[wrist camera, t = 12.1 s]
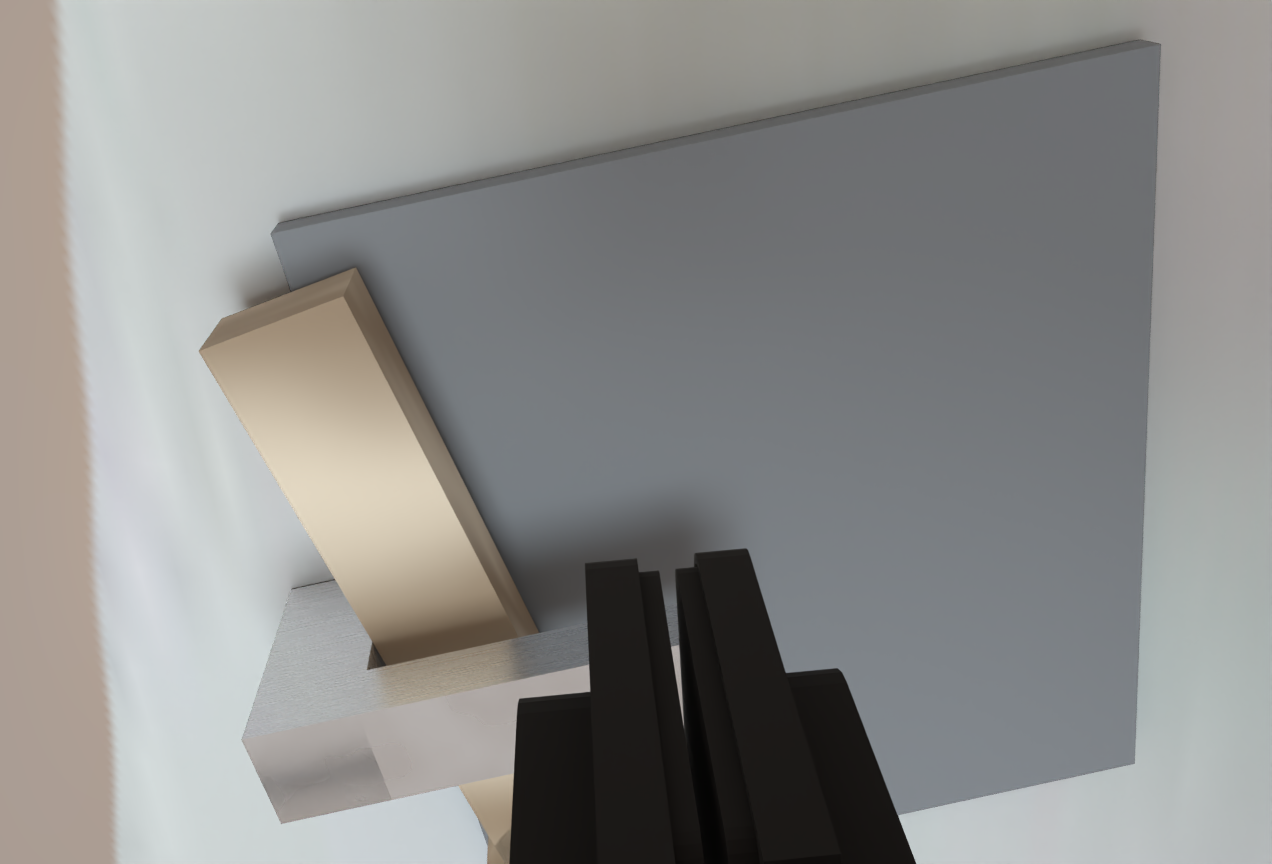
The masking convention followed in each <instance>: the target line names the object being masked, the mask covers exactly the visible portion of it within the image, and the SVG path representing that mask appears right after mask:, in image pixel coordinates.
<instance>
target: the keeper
mask: <svg viewBox="0 0 1272 864" xmlns="http://www.w3.org/2000/svg"><path fill="white" fill-rule="evenodd" d="M665 611H666V617H667V624H668V630H669V636H670V643H671V649H672V655H673V662H674V668H675V674H676V681H677V687H678V693H679V700H680V706H681V712H682V719H683V702H682V684H681V667H680V650H679V633H678V616H677V603H676V604H672V605H667V606H665ZM582 692H590V674H589V651H588V627H587V623H583V624H579V625H574V626H570V627H565V628H560V629H556V630H551V631H546V632H542V633H537V634H532V635H528V636H523V637H519V638H514V639H509V640H505V641H500V642H495V643H491V644H486V645H482V646H477V647H472V648H468V649H463V650H458V651H454V652H449V653H444V654H440V655H435V656H431V657H426V658H421V659H417V660H412V661H407V662H403V663H398V664H393V665H389V666H387V665H386V664H385V662H384V660H383V659H382V657H381V655H380V654H379V652H378V650H377V649H376V647H375V645H374V644H373V642H372V640H371V639H370V637H369V635H368V634H367V632H366V630H365V629H364V627H363V625H362V624H361V622H360V620H359V619H358V617H357V615H356V614H355V612H354V610H353V609H352V607H351V605H350V603H349V602H348V600H347V598H346V597H345V595H344V593H343V592H342V590H341V588H340V587H339V585H338V583H337V582H336V580H333V581H329V582H324V583H319V584H315V585H310V586H305V587H301V588H296V589H291V591H290V594H289V597H288V600H287V603H286V606H285V609H284V612H283V615H282V618H281V621H280V625H279V628H278V631H277V634H276V637H275V640H274V643H273V646H272V649H271V652H270V655H269V658H268V661H267V664H266V667H265V670H264V673H263V676H262V679H261V682H260V685H259V688H258V691H257V694H256V697H255V700H254V703H253V707H252V710H251V713H250V716H249V719H248V722H247V725H246V728H245V731H244V734H243V737H242V742H243V744H244V746H245V748H246V750H247V752H248V754H249V757H250V759H251V761H252V763H253V765H254V767H255V769H256V771H257V773H258V776H259V778H260V780H261V782H262V784H263V786H264V788H265V790H266V792H267V795H268V797H269V799H270V801H271V803H272V805H273V807H274V809H275V811H276V814H277V816H278V818H279V820H280V822H281V824H283V823H287V822H292V821H296V820H301V819H306V818H310V817H315V816H320V815H324V814H329V813H333V812H338V811H343V810H347V809H352V808H357V807H361V806H366V805H370V804H375V803H380V802H384V801H389V800H393V799H398V798H403V797H407V796H412V795H417V794H421V793H426V792H430V791H435V790H440V789H444V788H449V787H453V786H458V785H463V784H467V783H472V782H477V781H481V780H486V779H490V778H495V777H500V776H504V775H509V774H513V773H514V760H515V740H516V720H517V707H518V701H519V699H520V698H530V697H541V696H551V695H562V694H572V693H582ZM683 725H684V719H683Z"/></svg>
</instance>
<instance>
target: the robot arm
mask: <svg viewBox="0 0 1272 864" xmlns="http://www.w3.org/2000/svg"><path fill="white" fill-rule="evenodd" d="M585 581H586V604H587V627H588V651H589V674H590V692H582V693H572V694H562V695H551V696H541V697H530V698H520V699H519V701H518V707H517V720H516V740H515V760H514V779H513V799H512V819H511V839H510V858H509V864H916V862H915V859H914V857H913V854H912V852H911V849H910V846H909V844H908V841H907V839H906V836H905V833H904V831H903V828H902V825H901V823H900V820H899V818H898V815H897V812H896V810H895V807H894V804H893V802H892V799H891V797H890V794H889V791H888V789H887V786H886V783H885V781H884V778H883V776H882V773H881V770H880V768H879V765H878V762H877V760H876V757H875V755H874V752H873V749H872V747H871V744H870V741H869V739H868V736H867V734H866V731H865V728H864V726H863V723H862V720H861V718H860V715H859V713H858V710H857V707H856V705H855V702H854V699H853V697H852V694H851V692H850V689H849V686H848V684H847V681H846V679H845V677H844V675H843V673H842V672H841V671H840V670H839V669H838V668H833V669H823V670H812V671H802V672H791V673H786V672H785V668H784V665H783V662H782V659H781V655H780V652H779V649H778V645H777V642H776V639H775V636H774V632H773V629H772V626H771V622H770V619H769V616H768V613H767V609H766V606H765V603H764V599H763V596H762V593H761V590H760V586H759V583H758V580H757V576H756V573H755V570H754V567H753V563H752V560H751V557H750V554H749V551H748V549H746V548H743V549H732V550H721V551H710V552H699V553H695V554H694V567H689V568H678V569H675V582H676V599H677V616H678V633H679V650H680V667H681V684H682V702H683V719H684V725H683V719H682V712H681V706H680V700H679V693H678V687H677V681H676V674H675V668H674V662H673V655H672V649H671V643H670V636H669V630H668V624H667V617H666V611H665V605H664V598H663V592H662V585H661V579H660V573H659V570H657V571H646V572H639V570H638V562H637V558H634V559H623V560H612V561H601V562H590V563H585Z"/></svg>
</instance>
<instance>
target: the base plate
mask: <svg viewBox="0 0 1272 864" xmlns="http://www.w3.org/2000/svg"><path fill="white" fill-rule="evenodd" d="M1160 53H1161V44H1158V43H1153V42H1149V41H1144V40H1136V41H1132V42H1127V43H1122V44H1118V45H1113V46H1108V47H1104V48H1099V49H1094V50H1089V51H1085V52H1080V53H1075V54H1071V55H1066V56H1061V57H1057V58H1052V59H1047V60H1043V61H1038V62H1033V63H1028V64H1024V65H1019V66H1014V67H1010V68H1005V69H1000V70H996V71H991V72H986V73H981V74H977V75H972V76H967V77H963V78H958V79H953V80H949V81H944V82H939V83H935V84H930V85H925V86H920V87H916V88H911V89H906V90H902V91H897V92H892V93H888V94H883V95H878V96H874V97H869V98H864V99H859V100H855V101H850V102H845V103H841V104H836V105H831V106H827V107H822V108H817V109H812V110H808V111H803V112H798V113H794V114H789V115H784V116H780V117H775V118H770V119H766V120H761V121H756V122H751V123H747V124H742V125H737V126H733V127H728V128H723V129H719V130H714V131H709V132H704V133H700V134H695V135H690V136H686V137H681V138H676V139H672V140H667V141H662V142H658V143H653V144H648V145H643V146H639V147H634V148H629V149H625V150H620V151H615V152H611V153H606V154H601V155H596V156H592V157H587V158H582V159H578V160H573V161H568V162H564V163H559V164H554V165H550V166H545V167H540V168H535V169H531V170H526V171H521V172H517V173H512V174H507V175H503V176H498V177H493V178H488V179H484V180H479V181H474V182H470V183H465V184H460V185H456V186H451V187H446V188H442V189H437V190H432V191H427V192H423V193H418V194H413V195H409V196H404V197H399V198H395V199H390V200H385V201H381V202H376V203H371V204H366V205H362V206H357V207H352V208H348V209H343V210H338V211H334V212H329V213H324V214H319V215H315V216H310V217H305V218H301V219H296V220H291V221H287V222H282V223H278V224H277V226H276V227H275V228H274V230H273V231H272V232H271V237H272V239H273V242H274V245H275V248H276V251H277V253H278V256H279V259H280V262H281V265H282V268H283V270H284V273H285V276H286V279H287V282H288V284H289V287H290V290H291V292H293V291H295V290H298V289H301V288H303V287H306V286H308V285H311V284H314V283H316V282H319V281H322V280H324V279H327V278H329V277H332V276H335V275H337V274H340V273H342V272H345V271H348V270H350V269H353V268H357V270H358V272H359V274H360V276H361V278H362V280H363V282H364V284H365V286H366V288H367V290H368V292H369V294H370V296H371V298H372V300H373V302H374V304H375V306H376V308H377V310H378V312H379V314H380V316H381V318H382V320H383V322H384V324H385V326H386V328H387V330H388V332H389V334H390V336H391V338H392V340H393V342H394V344H395V346H396V348H397V350H398V352H399V354H400V356H401V358H402V360H403V362H404V364H405V366H406V368H407V370H408V372H409V374H410V376H411V378H412V380H413V382H414V384H415V386H416V388H417V390H418V392H419V394H420V396H421V398H422V400H423V402H424V404H425V406H426V408H427V410H428V412H429V414H430V416H431V418H432V420H433V422H434V424H435V426H436V428H437V430H438V432H439V434H440V436H441V438H442V440H443V442H444V444H445V446H446V448H447V450H448V452H449V454H450V456H451V458H452V460H453V462H454V464H455V466H456V468H457V470H458V472H459V474H460V476H461V478H462V480H463V482H464V484H465V486H466V488H467V490H468V492H469V494H470V496H471V498H472V500H473V502H474V504H475V506H476V508H477V510H478V512H479V514H480V516H481V518H482V520H483V522H484V524H485V526H486V528H487V530H488V532H489V534H490V536H491V538H492V540H493V542H494V544H495V546H496V548H497V550H498V552H499V554H500V556H501V558H502V560H503V562H504V564H505V566H506V568H507V570H508V572H509V574H510V576H511V578H512V580H513V582H514V584H515V586H516V588H517V590H518V592H519V594H520V596H521V598H522V600H523V602H524V604H525V606H526V608H527V610H528V612H529V614H530V616H531V617H532V619H533V621H534V623H535V625H536V627H537V629H538V631H539V633H542V632H546V631H551V630H556V629H560V628H565V627H570V626H574V625H579V624H583V623H587V604H586V581H585V563H590V562H601V561H612V560H623V559H634V558H637V562H638V570H639V572H646V571H657V570H659V573H660V579H661V585H662V592H663V598H664V605H665V606H667V605H672V604H676V603H677V599H676V582H675V569H678V568H689V567H694V554H695V553H699V552H710V551H721V550H732V549H743V548H746V549H748V551H749V554H750V557H751V560H752V563H753V567H754V570H755V573H756V576H757V580H758V583H759V586H760V590H761V593H762V596H763V599H764V603H765V606H766V609H767V613H768V616H769V619H770V622H771V626H772V629H773V632H774V636H775V639H776V642H777V645H778V649H779V652H780V655H781V659H782V662H783V665H784V668H785V672H786V673H791V672H802V671H812V670H823V669H833V668H838V669H839V670H840V671H841V672H842V673H843V675H844V677H845V679H846V681H847V684H848V686H849V689H850V692H851V694H852V697H853V699H854V702H855V705H856V707H857V710H858V713H859V715H860V718H861V720H862V723H863V726H864V728H865V731H866V734H867V736H868V739H869V741H870V744H871V747H872V749H873V752H874V755H875V757H876V760H877V762H878V765H879V768H880V770H881V773H882V776H883V778H884V781H885V783H886V786H887V789H888V791H889V794H890V797H891V799H892V802H893V804H894V807H895V810H896V812H897V815H901V814H905V813H910V812H914V811H919V810H924V809H928V808H933V807H937V806H942V805H947V804H951V803H956V802H960V801H965V800H970V799H974V798H979V797H983V796H988V795H993V794H997V793H1002V792H1006V791H1011V790H1016V789H1020V788H1025V787H1029V786H1034V785H1039V784H1043V783H1048V782H1052V781H1057V780H1062V779H1066V778H1071V777H1075V776H1080V775H1085V774H1089V773H1094V772H1098V771H1103V770H1108V769H1112V768H1117V767H1121V766H1126V765H1131V764H1135V740H1136V713H1137V685H1138V658H1139V630H1140V603H1141V575H1142V548H1143V520H1144V493H1145V465H1146V438H1147V410H1148V383H1149V355H1150V328H1151V300H1152V273H1153V245H1154V218H1155V191H1156V163H1157V136H1158V108H1159V81H1160ZM478 820H479V819H478ZM479 823H480V821H479ZM480 826H481V829H482V832H483V834H484V837H485V840H486V843H487V846H488V834H487V833H486V831H485V829H484V828H483V826H482V824H481V823H480Z"/></svg>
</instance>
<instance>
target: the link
mask: <svg viewBox="0 0 1272 864" xmlns="http://www.w3.org/2000/svg"><path fill="white" fill-rule="evenodd" d="M199 353H200V354H201V356H202V358H203V359H204V361H205V363H206V364H207V366H208V368H209V369H210V371H211V373H212V374H213V376H214V378H215V379H216V381H217V383H218V384H219V386H220V388H221V389H222V391H223V393H224V394H225V396H226V398H227V399H228V401H229V403H230V404H231V406H232V408H233V410H234V411H235V413H236V415H237V416H238V418H239V420H240V421H241V423H242V425H243V426H244V428H245V430H246V431H247V433H248V435H249V436H250V438H251V440H252V441H253V443H254V445H255V446H256V448H257V450H258V451H259V453H260V455H261V456H262V458H263V460H264V461H265V463H266V465H267V466H268V468H269V470H270V471H271V473H272V475H273V476H274V478H275V480H276V481H277V483H278V485H279V486H280V488H281V490H282V491H283V493H284V495H285V496H286V498H287V500H288V501H289V503H290V505H291V506H292V508H293V510H294V512H295V513H296V515H297V517H298V518H299V520H300V522H301V523H302V525H303V527H304V528H305V530H306V532H307V533H308V535H309V537H310V538H311V540H312V542H313V543H314V545H315V547H316V548H317V550H318V552H319V553H320V555H321V557H322V558H323V560H324V562H325V563H326V565H327V567H328V568H329V570H330V572H331V573H332V575H333V577H334V578H335V580H336V582H337V583H338V585H339V587H340V588H341V590H342V592H343V593H344V595H345V597H346V598H347V600H348V602H349V603H350V605H351V607H352V609H353V610H354V612H355V614H356V615H357V617H358V619H359V620H360V622H361V624H362V625H363V627H364V629H365V630H366V632H367V634H368V635H369V637H370V639H371V640H372V642H373V644H374V645H375V647H376V649H377V650H378V652H379V654H380V655H381V657H382V659H383V660H384V662H385V664H386V665H387V666H389V665H393V664H398V663H403V662H407V661H412V660H417V659H421V658H426V657H431V656H435V655H440V654H444V653H449V652H454V651H458V650H463V649H468V648H472V647H477V646H482V645H486V644H491V643H495V642H500V641H505V640H509V639H514V638H519V637H523V636H528V635H532V634H537V633H539V631H538V629H537V627H536V625H535V623H534V621H533V619H532V617H531V616H530V614H529V612H528V610H527V608H526V606H525V604H524V602H523V600H522V598H521V596H520V594H519V592H518V590H517V588H516V586H515V584H514V582H513V580H512V578H511V576H510V574H509V572H508V570H507V568H506V566H505V564H504V562H503V560H502V558H501V556H500V554H499V552H498V550H497V548H496V546H495V544H494V542H493V540H492V538H491V536H490V534H489V532H488V530H487V528H486V526H485V524H484V522H483V520H482V518H481V516H480V514H479V512H478V510H477V508H476V506H475V504H474V502H473V500H472V498H471V496H470V494H469V492H468V490H467V488H466V486H465V484H464V482H463V480H462V478H461V476H460V474H459V472H458V470H457V468H456V466H455V464H454V462H453V460H452V458H451V456H450V454H449V452H448V450H447V448H446V446H445V444H444V442H443V440H442V438H441V436H440V434H439V432H438V430H437V428H436V426H435V424H434V422H433V420H432V418H431V416H430V414H429V412H428V410H427V408H426V406H425V404H424V402H423V400H422V398H421V396H420V394H419V392H418V390H417V388H416V386H415V384H414V382H413V380H412V378H411V376H410V374H409V372H408V370H407V368H406V366H405V364H404V362H403V360H402V358H401V356H400V354H399V352H398V350H397V348H396V346H395V344H394V342H393V340H392V338H391V336H390V334H389V332H388V330H387V328H386V326H385V324H384V322H383V320H382V318H381V316H380V314H379V312H378V310H377V308H376V306H375V304H374V302H373V300H372V298H371V296H370V294H369V292H368V290H367V288H366V286H365V284H364V282H363V280H362V278H361V276H360V274H359V272H358V270H357V268H353V269H350V270H348V271H345V272H342V273H340V274H337V275H335V276H332V277H329V278H327V279H324V280H322V281H319V282H316V283H314V284H311V285H308V286H306V287H303V288H301V289H298V290H295V291H293V292H290V293H288V294H285V295H282V296H280V297H277V298H274V299H272V300H269V301H267V302H264V303H261V304H259V305H256V306H254V307H251V308H248V309H246V310H243V311H240V312H238V313H235V314H233V315H230V316H227V317H225V318H222V319H221V321H220V322H219V323H218V325H217V326H216V328H215V329H214V330H213V332H212V333H211V335H210V336H209V337H208V339H207V340H206V342H205V343H204V344H203V346H202V347H201V349H200V350H199ZM513 779H514V773H513V774H509V775H504V776H500V777H495V778H490V779H486V780H481V781H477V782H472V783H467V784H463V785H458V786H459V787H460V789H461V791H462V792H463V794H464V796H465V797H466V799H467V801H468V802H469V804H470V806H471V807H472V809H473V811H474V813H475V814H476V816H477V818H478V819H479V821H480V823H481V824H482V826H483V828H484V829H485V831H486V833H487V834H488V856H487V864H509V858H510V839H511V819H512V799H513Z"/></svg>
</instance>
